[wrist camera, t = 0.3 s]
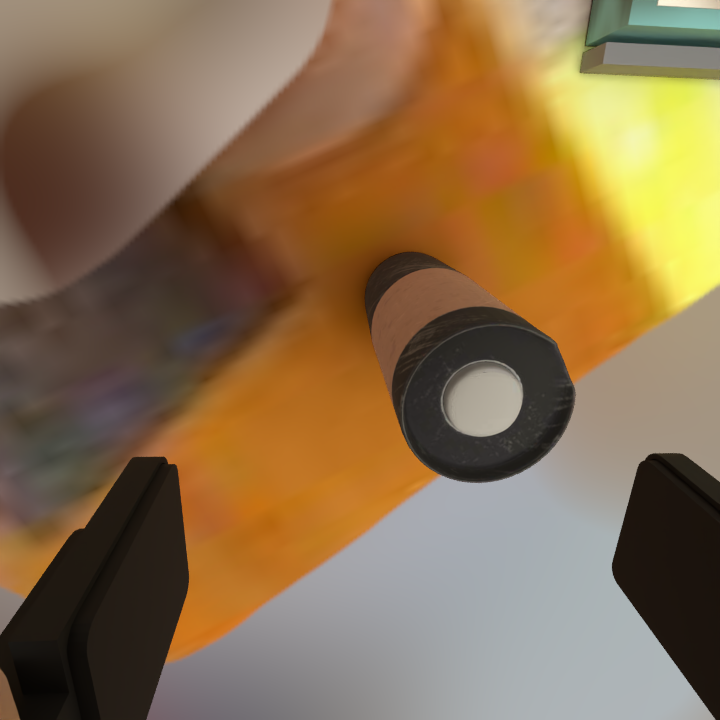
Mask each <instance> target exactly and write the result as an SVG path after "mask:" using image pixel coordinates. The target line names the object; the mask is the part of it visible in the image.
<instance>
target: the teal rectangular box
mask: <svg viewBox="0 0 720 720" xmlns="http://www.w3.org/2000/svg"><path fill="white" fill-rule="evenodd" d="M606 42H616V43H635V44H654V45H673V46H692V47H712V48H720V0H593V3H592V10H591V16H590V22H589V28H588V34H587V40H586V46H599V45H601V44H603V43H606Z"/></svg>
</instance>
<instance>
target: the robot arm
mask: <svg viewBox="0 0 720 720" xmlns="http://www.w3.org/2000/svg"><path fill="white" fill-rule="evenodd" d="M612 571H613V576H614V578H615V581H616V582H617V584H618V585H619V587H620V588H621V589H622V591H623V592H624V594H625V595H626V596H627V598H628V599H629V600H630V602H631V603H632V605H633V606H634V607H635V609H636V610H637V611H638V613H639V614H640V616H641V617H642V618H643V620H644V621H645V623H646V624H647V625H648V627H649V628H650V630H651V631H652V632H653V634H654V635H655V636H656V638H657V639H658V640H659V642H660V643H661V645H662V646H663V648H664V649H665V650H666V652H667V653H668V654H669V656H670V657H671V658H672V660H673V661H674V663H675V664H676V665H677V666H678V668H679V669H680V671H681V672H682V673H683V675H684V676H685V678H686V679H687V681H688V682H689V683H690V685H691V686H692V688H693V689H694V690H695V692H696V693H697V694H698V696H699V697H700V699H701V700H702V701H703V703H704V704H705V705H706V707H707V708H708V710H709V711H710V712H711V714H712V715H713V717H714V718H715V719H716V720H720V482H719V481H718V480H716V479H715V478H714V477H712V476H711V475H710V474H708V473H707V472H706V471H705V470H703V469H702V468H701V467H699V466H698V465H697V464H696V463H694V462H693V461H692V460H690V459H689V458H688V457H686V456H685V455H683V454H677V453H663V454H661V453H659V454H656V453H655V454H650V455H649V456H648V457H647V458H646V459H645V461H642V462H641V463H640V464H639V466H638V469H637V472H636V476H635V480H634V484H633V487H632V491H631V495H630V499H629V503H628V506H627V510H626V514H625V517H624V521H623V525H622V529H621V532H620V536H619V540H618V543H617V547H616V551H615V555H614V558H613V562H612ZM188 584H189V571H188V561H187V552H186V543H185V533H184V524H183V515H182V505H181V496H180V486H179V477H178V469H177V466H176V465H175V464H168V462H167V459H166V458H165V457H133V458H132V459H131V460H130V462H129V463H128V465H127V466H126V467H125V469H124V470H123V472H122V473H121V475H120V476H119V478H118V479H117V481H116V482H115V484H114V485H113V487H112V488H111V490H110V491H109V493H108V494H107V496H106V497H105V499H104V500H103V502H102V503H101V505H100V506H99V508H98V509H97V511H96V512H95V513H94V515H93V516H92V518H91V519H90V521H89V522H88V524H87V525H86V527H85V528H84V529H78V530H76V531H74V532H73V533H72V535H71V536H70V537H69V538H68V539H67V541H66V542H65V544H64V545H63V546H62V548H61V549H60V551H59V552H58V554H57V555H56V556H55V558H54V559H53V561H52V562H51V564H50V565H49V566H48V568H47V569H46V571H45V572H44V574H43V575H42V576H41V578H40V579H39V581H38V582H37V584H36V585H35V586H34V588H33V589H32V591H31V592H30V594H29V595H28V596H27V598H26V599H25V601H24V602H23V604H22V605H21V606H20V608H19V609H18V611H17V612H16V614H15V615H14V616H13V618H12V619H11V621H10V622H9V624H8V625H7V626H6V628H5V629H4V631H3V632H2V634H1V635H0V720H146V719H147V715H148V712H149V709H150V706H151V703H152V700H153V697H154V694H155V691H156V688H157V685H158V682H159V678H160V675H161V672H162V669H163V666H164V663H165V660H166V657H167V654H168V651H169V648H170V644H171V641H172V638H173V635H174V632H175V629H176V626H177V623H178V620H179V617H180V614H181V610H182V607H183V604H184V601H185V598H186V595H187V591H188Z"/></svg>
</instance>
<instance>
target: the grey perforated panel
mask: <svg viewBox="0 0 720 720" xmlns="http://www.w3.org/2000/svg"><path fill="white" fill-rule="evenodd" d="M580 73H594V74H615V75H636V76H657V77H679V78H700V79H720V48H712V47H692V46H673V45H654V44H635V43H616V42H606V43H603V44H601V45H599V46H597V47H595V48H593V49H591V50H588V51H586V52H584V53H583V57H582V63H581V69H580Z"/></svg>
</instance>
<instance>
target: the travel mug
mask: <svg viewBox="0 0 720 720" xmlns="http://www.w3.org/2000/svg"><path fill="white" fill-rule="evenodd" d="M365 306H366V312H367V318H368V323H369V327H370V332H371V337H372V342H373V346H374V349H375V352H376V355H377V358H378V361H379V364H380V367H381V370H382V373H383V376H384V379H385V382H386V385H387V388H388V391H389V394H390V397H391V400H392V403H393V406H394V409H395V412H396V415H397V418H398V421H399V424H400V427H401V430H402V433H403V435H404V438H405V440H406V442H407V444H408V446H409V447H410V449H411V450H412V452H413V453H414V454H415V456H416V457H417V458H418V459H419V460H420V461H421V462H422V463H423V464H424V465H426V466H427V467H428V468H430V469H431V470H433V471H434V472H436V473H438V474H440V475H442V476H445V477H447V478H450V479H453V480H457V481H462V482H470V483H482V482H492V481H498V480H502V479H505V478H509V477H511V476H514V475H516V474H519V473H521V472H523V471H524V470H526V469H528V468H530V467H531V466H533V465H534V464H536V463H537V462H538V461H540V460H541V459H542V458H543V457H544V456H545V455H547V454H548V453H549V452H550V450H551V449H552V448H553V447H554V446H555V445H556V443H557V442H558V441H559V439H560V438H561V437H562V435H563V433H564V431H565V429H566V428H567V425H568V423H569V421H570V418H571V415H572V412H573V408H574V403H575V396H576V395H575V388H574V385H573V383H572V381H571V379H570V376H569V374H568V371H567V368H566V366H565V363H564V360H563V358H562V356H561V354H560V351H559V349H558V346H557V343H556V342H555V341H554V340H553V339H551V338H550V337H549V336H547V335H546V334H544V333H543V332H541V331H540V330H538V329H537V328H535V327H534V326H533V325H531V324H530V323H529V322H527V321H526V320H525V319H523V318H522V317H521V316H519V315H518V314H517V313H515V312H514V311H513V310H511V309H510V308H509V307H507V306H506V305H505V304H503V303H502V302H501V301H499V300H498V299H497V298H495V297H494V296H492V295H491V294H490V293H488V292H487V291H486V290H484V289H483V288H482V287H480V286H479V285H478V284H476V283H475V282H474V281H472V280H471V279H470V278H468V277H467V276H465V275H463V274H462V273H460V272H458V271H456V270H455V269H453V268H451V267H449V266H448V265H446V264H444V263H442V262H441V261H439V260H437V259H435V258H433V257H431V256H429V255H426V254H423V253H418V252H405V253H400V254H397V255H394V256H392V257H390V258H388V259H387V260H385V261H384V262H382V263H381V264H380V265H379V266H378V267H377V268H376V269H375V271H374V272H373V273H372V275H371V277H370V279H369V281H368V284H367V287H366V291H365Z"/></svg>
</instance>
